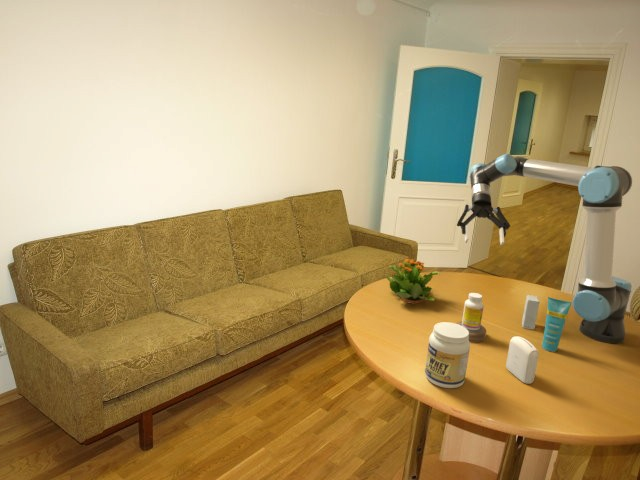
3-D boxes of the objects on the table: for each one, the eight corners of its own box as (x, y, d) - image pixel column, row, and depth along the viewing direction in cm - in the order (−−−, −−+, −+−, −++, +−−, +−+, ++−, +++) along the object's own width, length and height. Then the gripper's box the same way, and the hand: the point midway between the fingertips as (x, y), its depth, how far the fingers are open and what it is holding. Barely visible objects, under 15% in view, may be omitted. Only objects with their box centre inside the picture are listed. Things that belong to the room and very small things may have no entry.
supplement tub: (416, 377, 144) (422, 327, 140) (437, 363, 153) (443, 316, 148) (451, 395, 136) (459, 343, 131) (471, 379, 144) (479, 330, 140)
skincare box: (534, 330, 180) (539, 301, 176) (522, 328, 181) (527, 299, 178) (532, 323, 185) (538, 296, 182) (521, 321, 187) (526, 294, 183)
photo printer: (503, 367, 152) (509, 333, 149) (514, 366, 153) (520, 332, 150) (523, 385, 143) (530, 349, 139) (535, 383, 144) (542, 348, 140)
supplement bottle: (481, 332, 169) (486, 299, 165) (462, 329, 170) (467, 297, 166) (478, 324, 175) (483, 292, 172) (460, 322, 176) (465, 290, 173)
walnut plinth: (491, 339, 171) (492, 331, 170) (469, 344, 166) (470, 336, 165) (469, 326, 180) (470, 318, 180) (448, 331, 176) (449, 323, 175)
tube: (537, 348, 166) (547, 298, 161) (538, 342, 170) (548, 294, 165) (560, 354, 162) (571, 304, 157) (561, 348, 166) (572, 299, 161)
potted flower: (451, 308, 196) (456, 269, 191) (403, 314, 188) (407, 274, 183) (418, 286, 219) (422, 251, 214) (374, 291, 210) (377, 255, 205)
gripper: (509, 204, 193) (514, 249, 183) (448, 200, 195) (450, 244, 185) (515, 194, 187) (520, 239, 176) (452, 190, 189) (454, 235, 179)
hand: (484, 242), depth 181 cm, fingers open, 13 cm apart
